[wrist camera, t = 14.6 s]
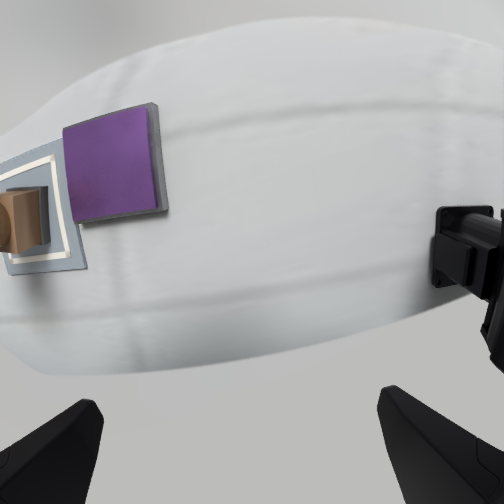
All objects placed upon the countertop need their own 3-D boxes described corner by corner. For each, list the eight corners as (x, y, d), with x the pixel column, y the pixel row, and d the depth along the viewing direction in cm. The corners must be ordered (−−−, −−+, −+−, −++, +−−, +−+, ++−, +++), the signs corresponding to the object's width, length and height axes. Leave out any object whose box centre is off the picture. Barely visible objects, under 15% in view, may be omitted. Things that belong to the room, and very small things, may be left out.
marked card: (67, 137, 17) (63, 137, 17) (87, 266, 20) (84, 268, 19) (-9, 169, 17) (-12, 169, 17) (11, 273, 20) (7, 275, 20)
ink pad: (157, 105, 17) (149, 100, 15) (168, 207, 19) (161, 212, 17) (71, 129, 17) (59, 128, 15) (82, 221, 19) (70, 226, 17)
